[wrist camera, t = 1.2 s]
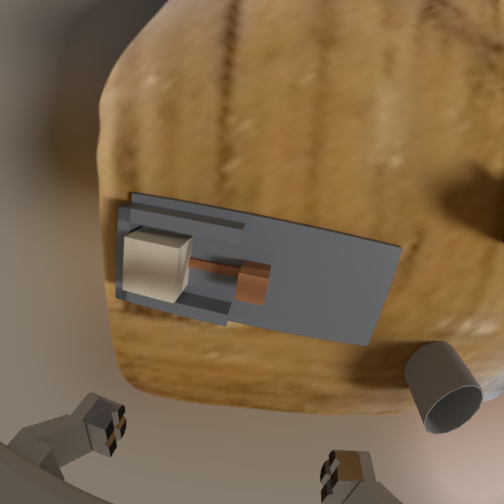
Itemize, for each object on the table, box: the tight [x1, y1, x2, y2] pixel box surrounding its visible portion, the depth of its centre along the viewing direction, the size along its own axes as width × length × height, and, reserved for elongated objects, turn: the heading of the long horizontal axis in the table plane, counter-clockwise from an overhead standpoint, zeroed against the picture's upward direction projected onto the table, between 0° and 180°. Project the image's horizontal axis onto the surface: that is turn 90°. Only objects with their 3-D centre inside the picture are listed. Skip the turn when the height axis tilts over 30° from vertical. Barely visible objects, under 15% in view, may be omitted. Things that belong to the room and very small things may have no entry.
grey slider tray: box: [116, 192, 402, 346], centre depth 35 cm, size 13×31×4 cm, turn 80°
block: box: [123, 226, 271, 306], centre depth 33 cm, size 6×15×5 cm, turn 80°
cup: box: [404, 341, 483, 434], centre depth 33 cm, size 8×8×10 cm
